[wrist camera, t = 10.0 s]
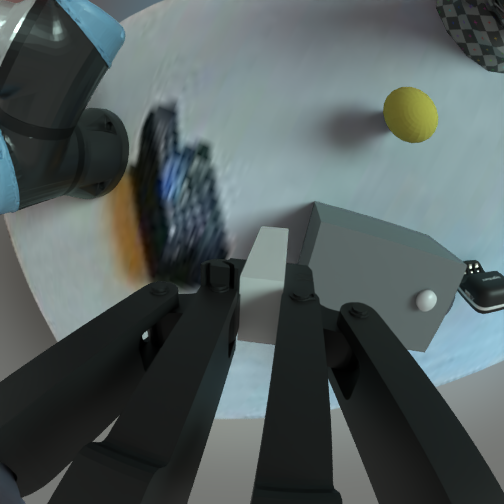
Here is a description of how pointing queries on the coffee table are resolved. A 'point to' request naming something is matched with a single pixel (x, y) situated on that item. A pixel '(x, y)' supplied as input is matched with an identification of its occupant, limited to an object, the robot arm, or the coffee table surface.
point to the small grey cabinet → (382, 271)
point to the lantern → (476, 29)
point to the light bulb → (410, 114)
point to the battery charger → (482, 288)
